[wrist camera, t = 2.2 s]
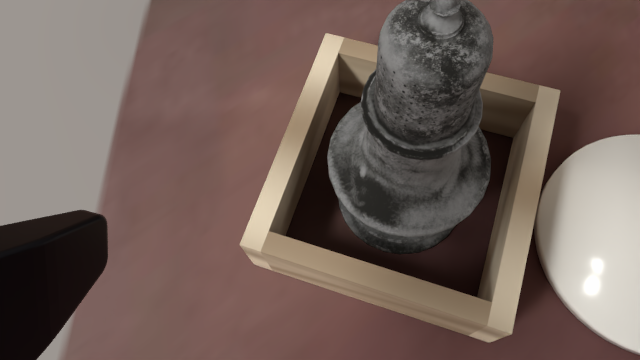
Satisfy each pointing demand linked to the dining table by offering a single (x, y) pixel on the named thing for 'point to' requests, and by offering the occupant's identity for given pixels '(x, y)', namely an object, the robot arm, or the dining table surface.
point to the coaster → (595, 237)
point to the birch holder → (380, 283)
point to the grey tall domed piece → (416, 129)
